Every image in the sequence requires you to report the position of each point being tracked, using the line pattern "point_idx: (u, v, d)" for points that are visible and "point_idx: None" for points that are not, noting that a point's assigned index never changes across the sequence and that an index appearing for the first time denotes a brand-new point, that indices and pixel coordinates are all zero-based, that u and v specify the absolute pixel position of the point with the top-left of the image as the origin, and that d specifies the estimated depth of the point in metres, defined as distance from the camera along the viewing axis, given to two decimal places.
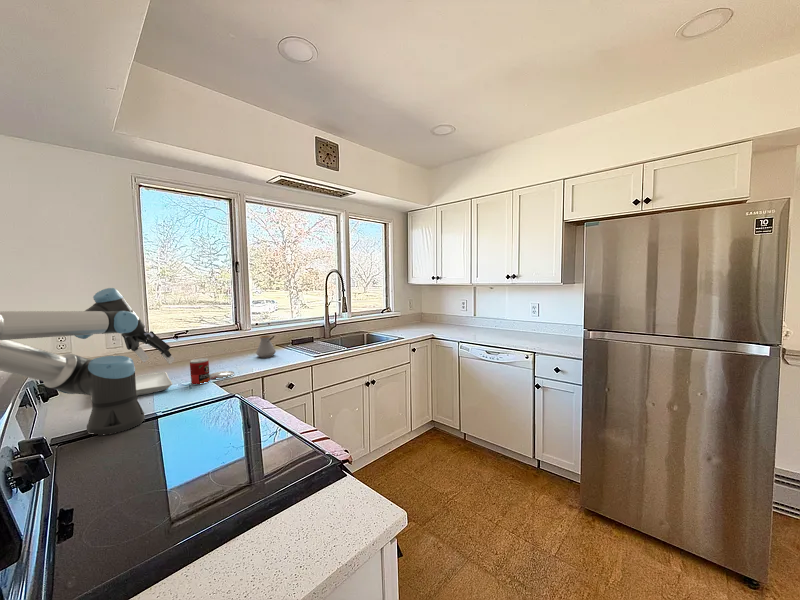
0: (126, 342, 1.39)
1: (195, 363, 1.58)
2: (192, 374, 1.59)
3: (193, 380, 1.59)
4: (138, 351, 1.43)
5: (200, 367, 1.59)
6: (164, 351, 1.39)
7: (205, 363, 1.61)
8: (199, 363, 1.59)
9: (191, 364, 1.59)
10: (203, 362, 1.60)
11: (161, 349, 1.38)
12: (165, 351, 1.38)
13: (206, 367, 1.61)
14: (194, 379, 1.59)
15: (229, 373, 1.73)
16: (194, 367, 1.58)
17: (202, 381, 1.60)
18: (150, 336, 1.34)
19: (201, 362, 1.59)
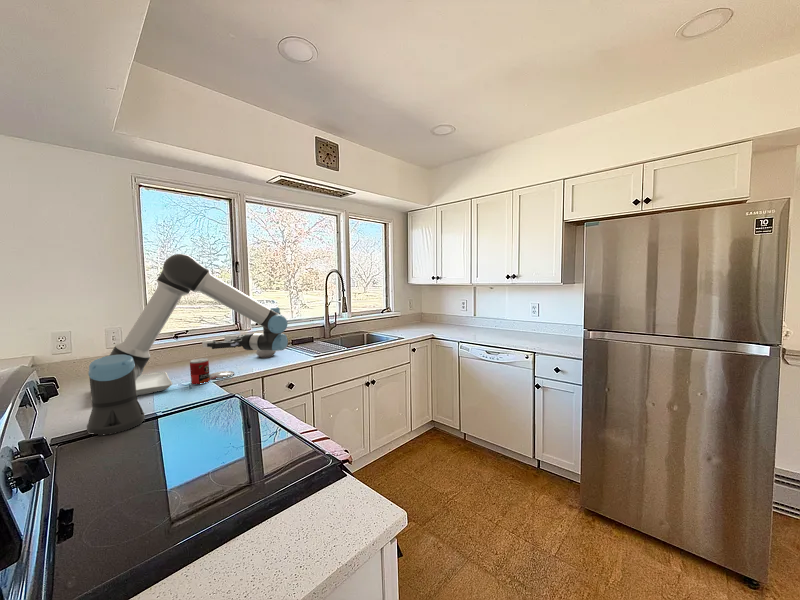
0: None
1: (195, 363, 1.58)
2: (192, 374, 1.59)
3: (193, 380, 1.59)
4: (234, 337, 1.64)
5: (200, 367, 1.59)
6: None
7: (205, 363, 1.61)
8: (199, 363, 1.59)
9: (191, 364, 1.59)
10: (203, 362, 1.60)
11: None
12: (212, 343, 1.48)
13: (206, 367, 1.61)
14: (194, 379, 1.59)
15: (229, 373, 1.73)
16: (194, 367, 1.58)
17: (202, 381, 1.60)
18: (232, 343, 1.49)
19: (201, 362, 1.59)
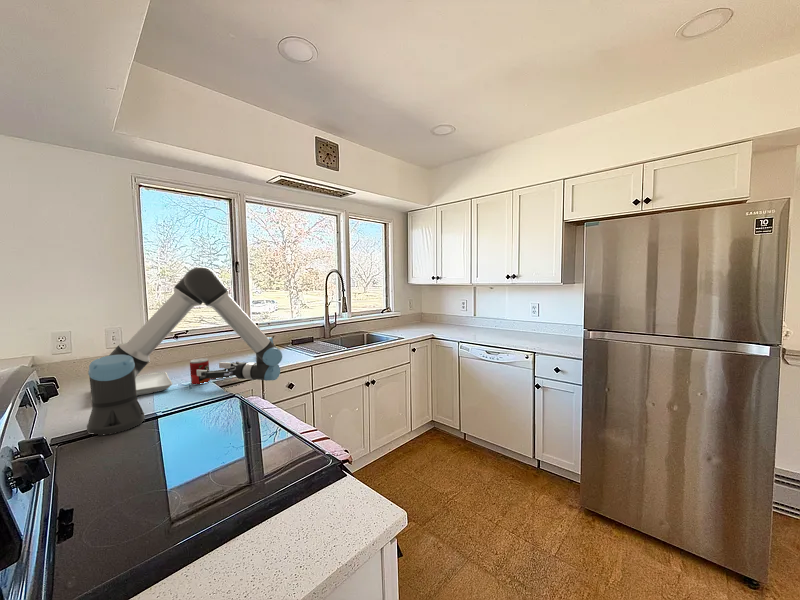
0: (240, 363, 1.66)
1: (195, 363, 1.58)
2: (192, 374, 1.59)
3: (193, 380, 1.59)
4: (228, 364, 1.66)
5: (200, 367, 1.59)
6: None
7: (205, 363, 1.61)
8: (199, 363, 1.59)
9: (191, 364, 1.59)
10: (203, 362, 1.60)
11: None
12: (206, 372, 1.50)
13: (206, 367, 1.61)
14: (194, 379, 1.59)
15: None
16: (194, 367, 1.58)
17: (202, 381, 1.60)
18: (225, 373, 1.51)
19: (201, 362, 1.59)
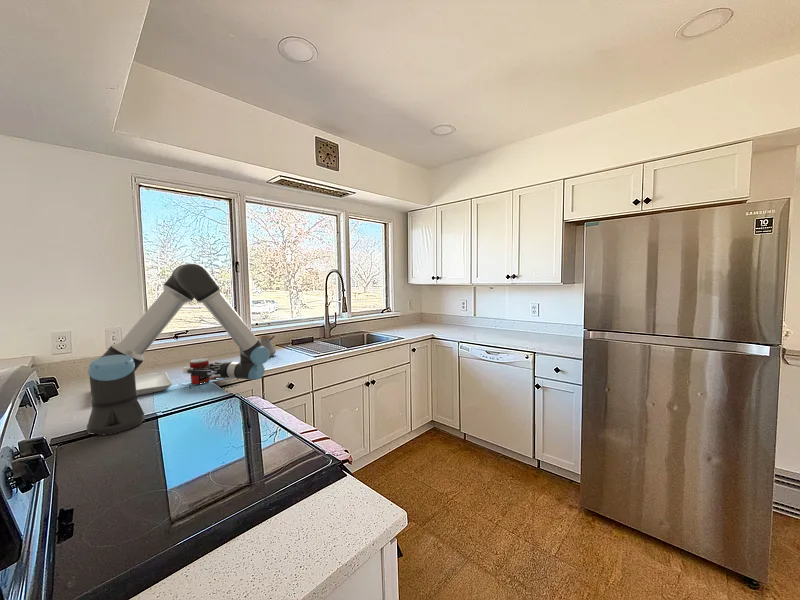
0: (221, 363, 1.66)
1: (195, 363, 1.58)
2: None
3: (193, 380, 1.59)
4: None
5: (200, 367, 1.59)
6: None
7: (205, 363, 1.61)
8: (199, 363, 1.59)
9: (191, 364, 1.59)
10: (203, 362, 1.60)
11: None
12: (192, 370, 1.55)
13: (206, 367, 1.61)
14: (194, 379, 1.59)
15: None
16: None
17: (202, 381, 1.60)
18: (207, 372, 1.53)
19: (201, 362, 1.59)
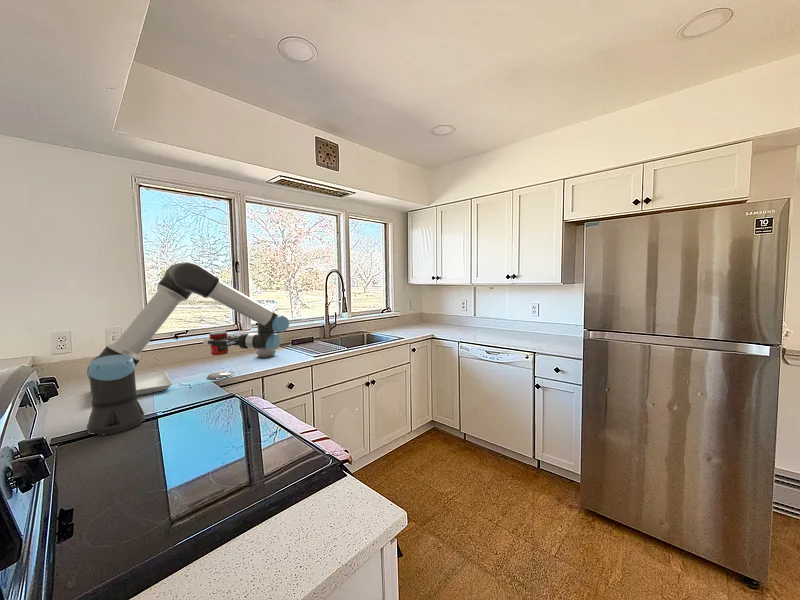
0: None
1: (215, 334, 1.67)
2: None
3: (213, 350, 1.68)
4: None
5: (220, 339, 1.68)
6: None
7: (224, 335, 1.70)
8: (218, 334, 1.68)
9: (211, 335, 1.68)
10: (222, 334, 1.69)
11: None
12: (212, 340, 1.64)
13: None
14: (213, 350, 1.68)
15: (229, 373, 1.73)
16: None
17: (221, 352, 1.69)
18: (227, 342, 1.62)
19: (220, 334, 1.68)
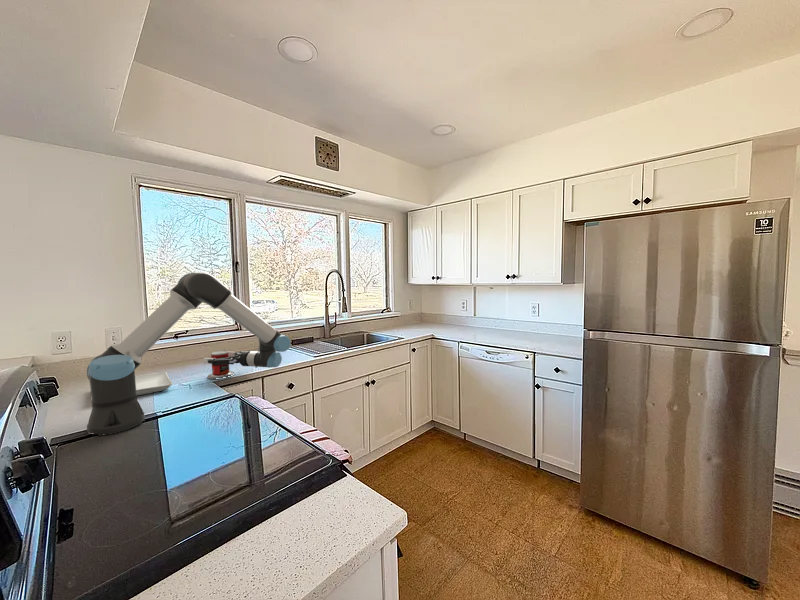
0: None
1: (216, 355, 1.68)
2: None
3: (214, 371, 1.69)
4: (233, 353, 1.78)
5: None
6: None
7: (225, 355, 1.71)
8: (220, 355, 1.69)
9: (213, 356, 1.69)
10: (224, 354, 1.70)
11: None
12: (212, 360, 1.62)
13: None
14: (215, 370, 1.69)
15: (229, 373, 1.73)
16: None
17: (223, 372, 1.70)
18: (230, 360, 1.63)
19: (222, 354, 1.69)
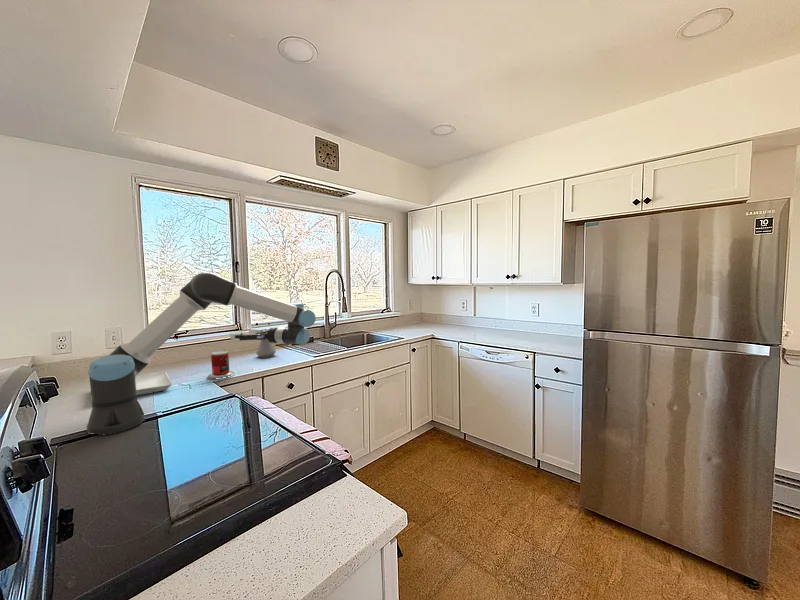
0: None
1: (216, 355, 1.68)
2: (213, 365, 1.69)
3: (214, 371, 1.69)
4: (258, 331, 1.74)
5: (221, 359, 1.69)
6: (241, 335, 1.60)
7: (225, 355, 1.71)
8: (220, 355, 1.69)
9: (212, 356, 1.69)
10: (224, 354, 1.70)
11: None
12: (240, 334, 1.58)
13: (226, 359, 1.71)
14: (215, 370, 1.69)
15: (229, 373, 1.73)
16: (215, 359, 1.68)
17: (223, 372, 1.70)
18: (258, 335, 1.59)
19: (222, 354, 1.69)
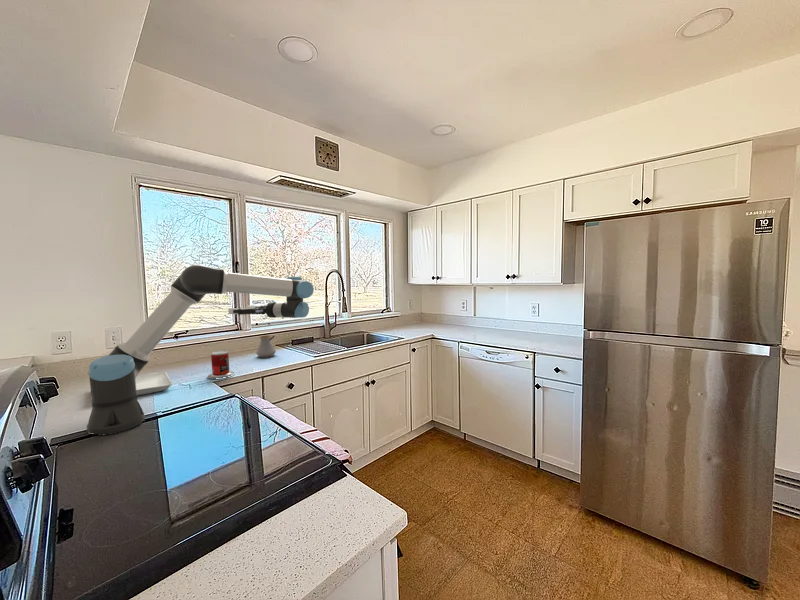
0: None
1: (216, 355, 1.68)
2: (213, 365, 1.69)
3: (214, 371, 1.69)
4: (257, 307, 1.72)
5: (221, 359, 1.69)
6: None
7: (225, 355, 1.71)
8: (220, 355, 1.69)
9: (212, 356, 1.69)
10: (224, 354, 1.70)
11: None
12: (238, 309, 1.56)
13: (226, 359, 1.71)
14: (215, 370, 1.69)
15: (229, 373, 1.73)
16: (215, 359, 1.68)
17: (223, 372, 1.70)
18: (257, 309, 1.57)
19: (222, 354, 1.69)
